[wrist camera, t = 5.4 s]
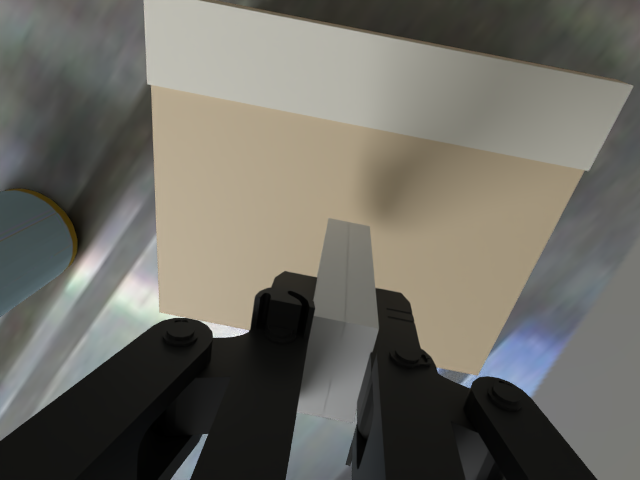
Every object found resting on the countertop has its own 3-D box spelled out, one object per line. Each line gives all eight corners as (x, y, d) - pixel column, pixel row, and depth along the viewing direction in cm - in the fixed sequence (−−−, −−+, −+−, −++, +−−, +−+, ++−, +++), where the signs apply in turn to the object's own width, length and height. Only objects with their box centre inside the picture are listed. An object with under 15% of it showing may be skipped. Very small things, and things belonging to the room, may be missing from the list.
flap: (476, 363, 22) (480, 377, 21) (164, 301, 22) (156, 313, 21) (620, 80, 15) (634, 85, 14) (155, -12, 15) (143, -11, 14)
